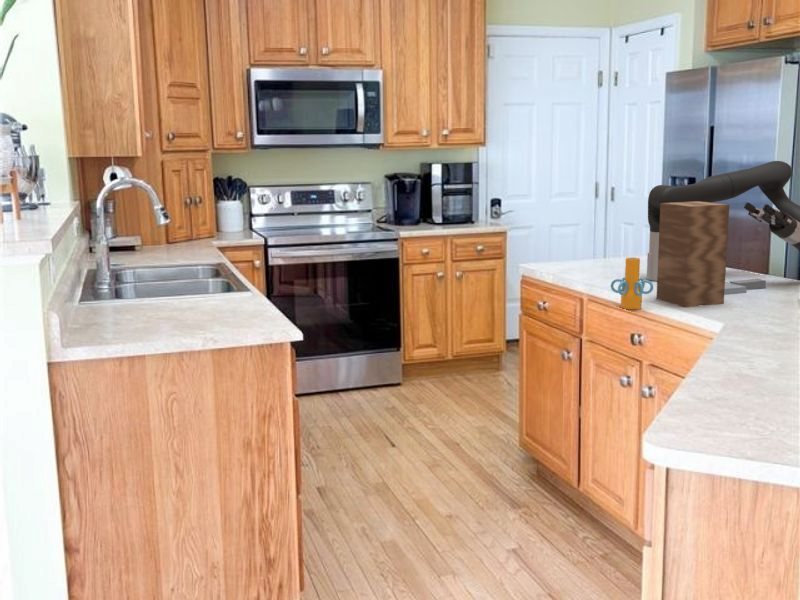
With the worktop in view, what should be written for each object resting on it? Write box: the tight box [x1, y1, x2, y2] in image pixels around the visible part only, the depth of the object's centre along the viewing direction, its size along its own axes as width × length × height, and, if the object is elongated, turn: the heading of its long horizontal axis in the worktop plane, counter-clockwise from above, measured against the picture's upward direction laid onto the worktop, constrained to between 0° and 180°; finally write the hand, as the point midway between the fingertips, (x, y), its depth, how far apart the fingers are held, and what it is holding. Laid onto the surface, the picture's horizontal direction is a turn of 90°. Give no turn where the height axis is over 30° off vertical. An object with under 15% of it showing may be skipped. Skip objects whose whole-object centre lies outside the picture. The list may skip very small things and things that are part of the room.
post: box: [656, 201, 730, 308], centre depth 247 cm, size 14×14×30 cm
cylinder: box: [610, 256, 654, 311], centre depth 241 cm, size 12×10×15 cm
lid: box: [724, 278, 767, 296], centre depth 267 cm, size 23×12×2 cm, turn 107°
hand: (755, 205), depth 264 cm, fingers open, 8 cm apart
